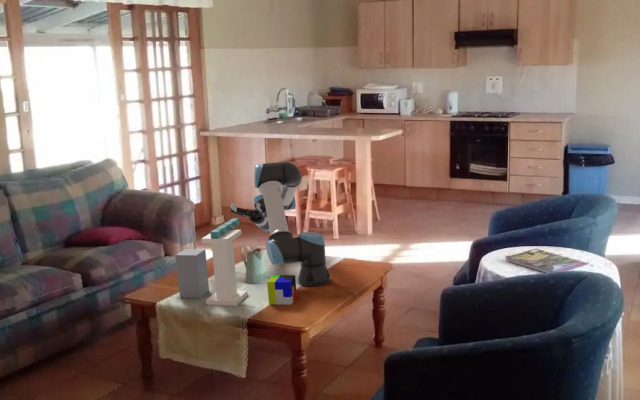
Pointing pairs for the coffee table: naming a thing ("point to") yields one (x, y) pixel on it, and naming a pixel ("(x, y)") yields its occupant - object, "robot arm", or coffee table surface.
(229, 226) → the teal bar
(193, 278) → the slate block
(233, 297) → the off-white stand
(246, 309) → the coffee table surface
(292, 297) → the puzzle toy
